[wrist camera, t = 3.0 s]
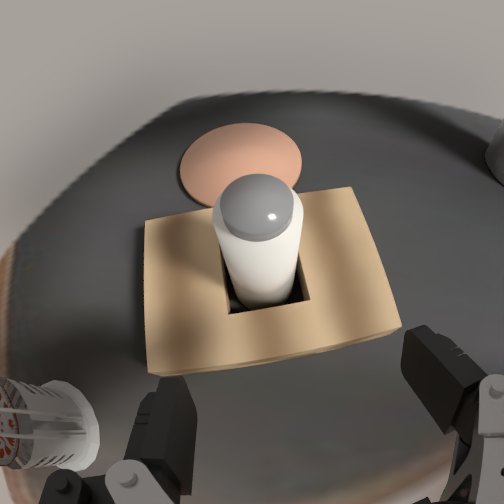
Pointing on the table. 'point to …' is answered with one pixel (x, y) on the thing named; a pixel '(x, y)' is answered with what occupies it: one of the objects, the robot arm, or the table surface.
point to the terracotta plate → (237, 159)
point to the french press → (47, 426)
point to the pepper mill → (259, 238)
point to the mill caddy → (269, 319)
